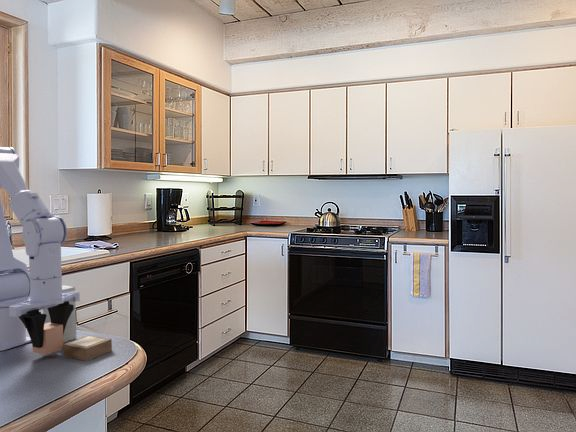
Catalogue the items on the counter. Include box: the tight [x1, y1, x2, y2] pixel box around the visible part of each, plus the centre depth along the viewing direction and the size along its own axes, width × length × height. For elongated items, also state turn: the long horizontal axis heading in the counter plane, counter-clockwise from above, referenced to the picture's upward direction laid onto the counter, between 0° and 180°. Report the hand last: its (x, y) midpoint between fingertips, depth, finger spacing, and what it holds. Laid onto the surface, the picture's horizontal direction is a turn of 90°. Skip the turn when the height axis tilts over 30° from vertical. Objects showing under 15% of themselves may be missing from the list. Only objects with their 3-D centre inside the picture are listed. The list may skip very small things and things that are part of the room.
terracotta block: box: [31, 322, 64, 356], centre depth 93 cm, size 4×4×5 cm
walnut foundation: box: [62, 334, 113, 362], centre depth 95 cm, size 6×6×3 cm
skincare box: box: [42, 284, 77, 343], centre depth 104 cm, size 6×4×12 cm
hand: (47, 343), depth 93 cm, fingers closed on terracotta block, 4 cm apart
